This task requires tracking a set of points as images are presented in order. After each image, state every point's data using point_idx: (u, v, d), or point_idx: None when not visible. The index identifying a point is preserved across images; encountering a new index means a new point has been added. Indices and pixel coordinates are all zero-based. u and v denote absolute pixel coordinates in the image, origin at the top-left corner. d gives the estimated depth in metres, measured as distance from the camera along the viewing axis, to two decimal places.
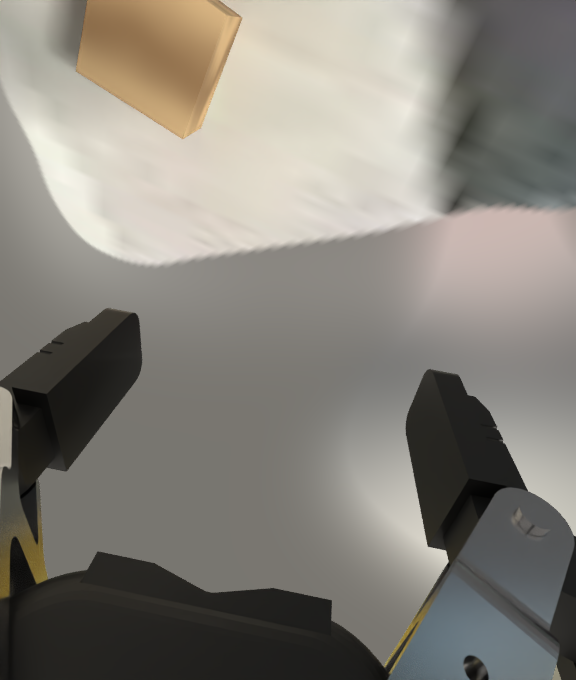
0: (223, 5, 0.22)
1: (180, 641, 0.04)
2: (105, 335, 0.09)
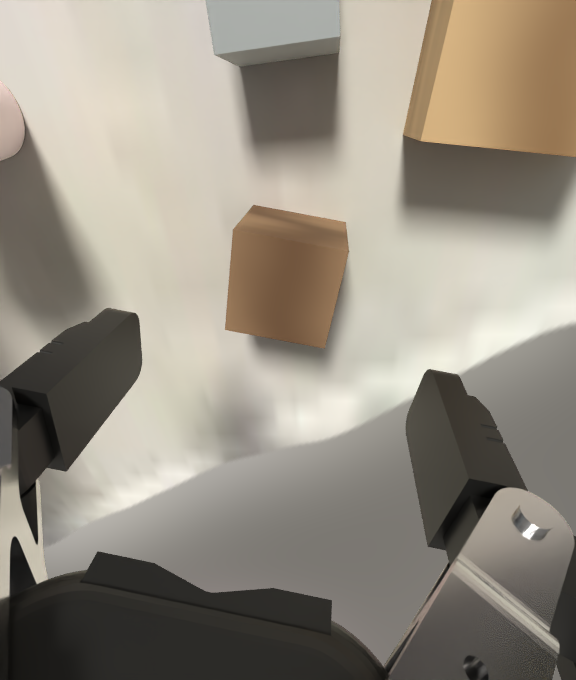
0: None
1: (180, 641, 0.04)
2: (105, 335, 0.09)
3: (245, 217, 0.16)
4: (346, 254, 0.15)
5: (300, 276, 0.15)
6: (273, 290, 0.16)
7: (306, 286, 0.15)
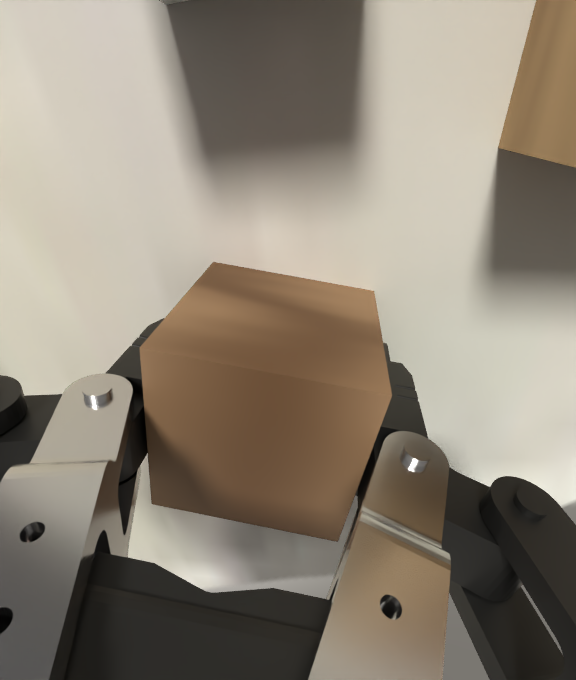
0: None
1: (180, 641, 0.04)
2: None
3: (184, 301, 0.08)
4: (386, 400, 0.07)
5: (289, 433, 0.07)
6: (234, 453, 0.08)
7: (301, 450, 0.08)
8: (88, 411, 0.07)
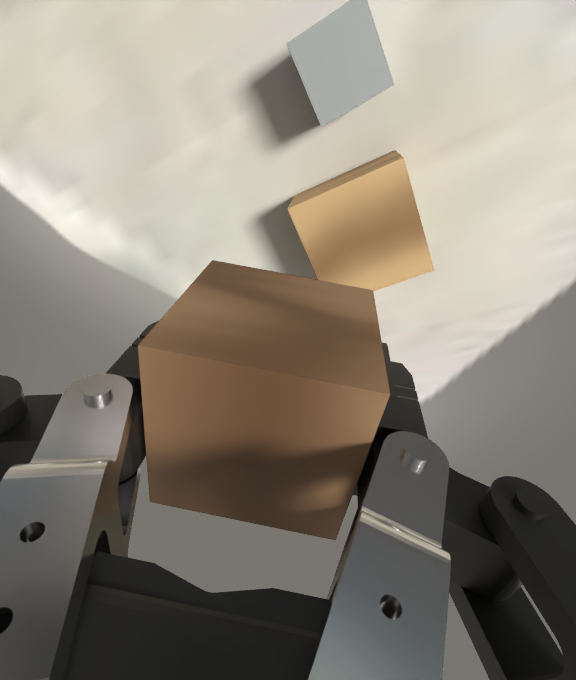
0: (379, 159, 0.23)
1: (180, 641, 0.04)
2: None
3: (182, 298, 0.08)
4: (384, 399, 0.07)
5: (286, 431, 0.07)
6: (233, 451, 0.08)
7: (299, 448, 0.08)
8: (88, 411, 0.07)
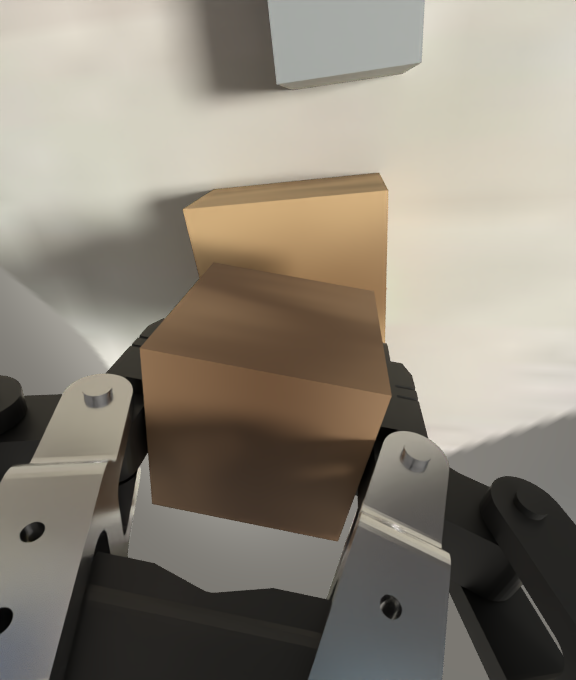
0: (353, 178, 0.15)
1: (180, 641, 0.04)
2: None
3: (184, 301, 0.08)
4: (386, 400, 0.07)
5: (289, 433, 0.07)
6: (234, 452, 0.08)
7: (302, 449, 0.08)
8: (88, 411, 0.07)
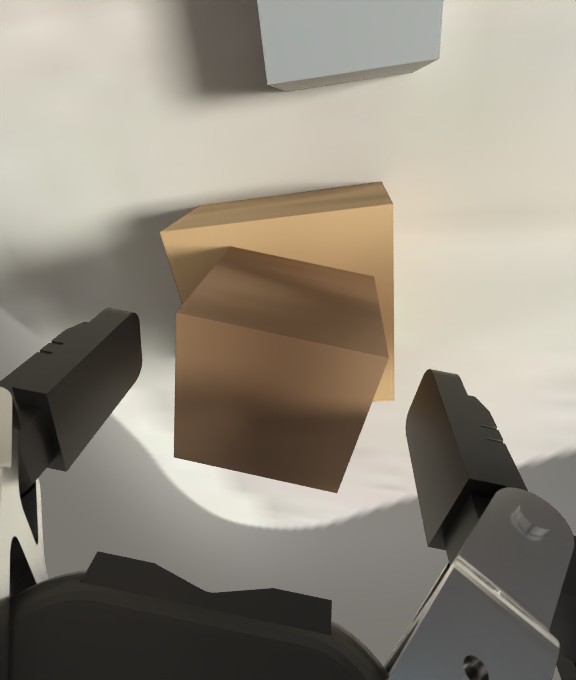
0: (352, 189, 0.13)
1: (180, 641, 0.04)
2: (105, 335, 0.09)
3: (208, 277, 0.10)
4: (384, 362, 0.08)
5: (299, 391, 0.09)
6: (251, 409, 0.09)
7: (310, 406, 0.09)
8: None
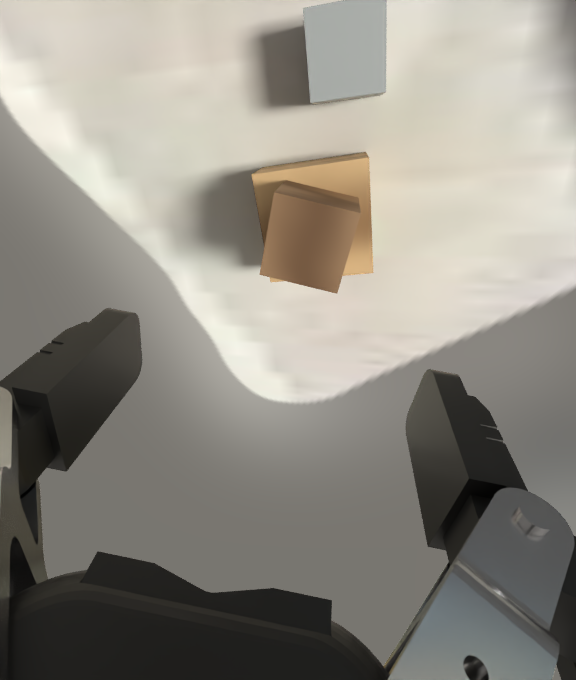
0: (349, 155, 0.24)
1: (180, 641, 0.04)
2: (105, 335, 0.09)
3: (281, 186, 0.21)
4: (359, 215, 0.19)
5: (323, 231, 0.20)
6: (300, 242, 0.20)
7: (326, 240, 0.20)
8: None
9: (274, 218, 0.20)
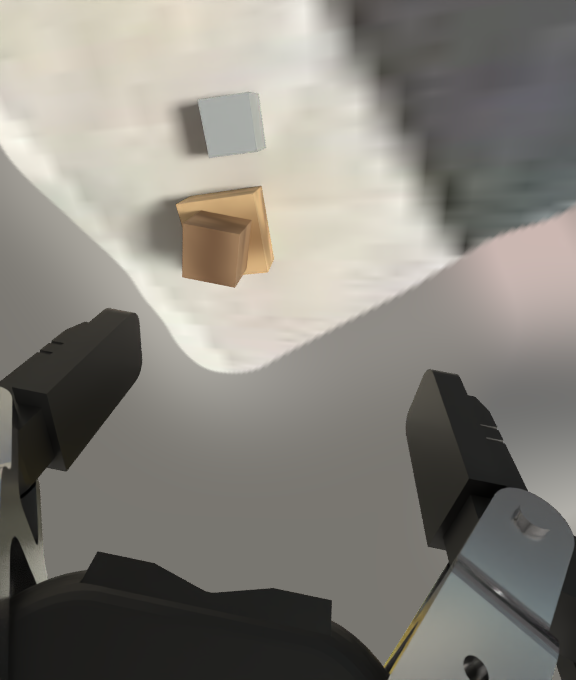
0: (248, 189, 0.35)
1: (180, 641, 0.04)
2: (105, 335, 0.09)
3: (192, 217, 0.31)
4: (238, 236, 0.29)
5: (218, 247, 0.30)
6: (205, 254, 0.30)
7: (221, 252, 0.30)
8: None
9: (185, 239, 0.30)
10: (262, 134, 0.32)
